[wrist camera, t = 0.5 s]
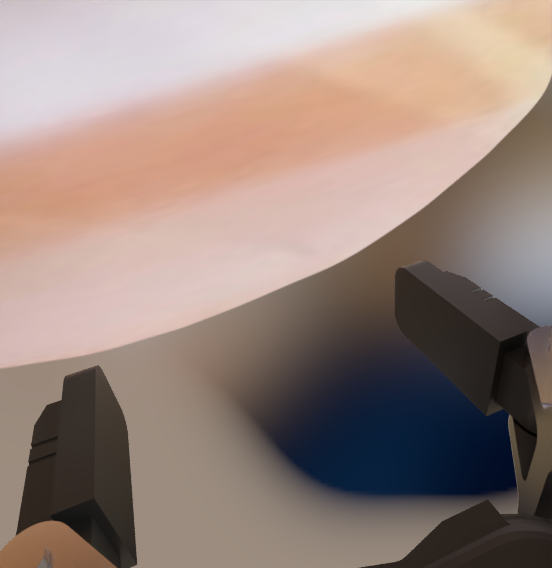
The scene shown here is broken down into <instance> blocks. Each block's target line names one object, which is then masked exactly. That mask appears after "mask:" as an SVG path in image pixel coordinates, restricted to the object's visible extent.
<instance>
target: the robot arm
mask: <svg viewBox="0 0 552 568" xmlns="http://www.w3.org/2000/svg"><path fill="white" fill-rule="evenodd" d="M395 318H396V321H397V324H398V326H399V328H400V330H401V331H402V333H403V334H404V335H405V336H406V337H407V338H408V339H409V340H410V341H411V342H412V343H413V344H414V345H415V346H416V347H417V348H418V349H419V350H420V351H421V352H422V353H423V354H424V355H425V356H426V357H427V358H428V359H429V360H430V361H431V362H433V364H434V365H436V367H437V368H439V369H440V371H441V372H443V374H445V376H446V377H448V378H449V379H450V380H451V381H452V382H453V383H454V384H455V385H456V386H457V387H458V388H459V389H460V390H461V391H462V392H463V393H464V394H465V395H466V396H467V397H468V398H469V399H470V400H471V401H472V402H473V403H474V404H475V405H476V406H477V407H478V408H479V409H480V410H481V411H482V412H483V413H484V414H485V415H486V416H488V415H490V414H492V413H494V412H497V411H499V410H501V409H505V410H506V411H507V412H508V413H509V414H510V416H509V420H508V426H509V433H510V439H511V446H512V453H513V460H514V466H515V473H516V480H517V487H518V513H517V514H499V512H498V511H497V510H496V509H495V507H494V506H493V505H492V504H491V503H490V502H489V500H486V501H484V502H482V503H480V504H477V505H475V506H473V507H471V508H469V509H467V510H465V511H463V512H461V513H459V514H457V515H454V516H452V517H450V518H448V519H446V520H444V521H442V522H441V523H440V524H439V525H438V526H437V527H436V528H435V529H434V530H433V531H432V532H431V533H430V534H429V535H428V536H427V537H425V538H424V540H422V541H421V543H419V544H418V545H417V546H416V547H415V548H414V549H413V550H412V551H411V552H410V553H409V554H408V555H407V556H406V557H405V558H403V559H402V560H400V561H397V562H393V563H386V564H380V565H374V566H367V567H361V568H552V326H544V327H539V326H537V325H536V324H534V323H533V322H531V321H530V320H528V319H527V318H525V317H524V316H522V315H521V314H519V313H518V312H516V311H515V310H513V309H512V308H510V307H509V306H507V305H506V304H504V303H503V302H501V301H500V300H498V299H497V298H493V296H492V295H491V294H489V293H488V292H486V291H485V290H481V288H480V287H479V286H477V285H476V284H474V283H473V282H471V281H470V280H468V279H467V278H465V277H462V276H459V275H456V274H453V273H450V272H447V271H446V272H442V271H441V270H439V269H438V268H437V267H435V266H434V265H432V264H431V263H429V262H427V261H425V260H422V261H419V262H416V263H413V264H410V265H407V266H403V267H400V268H398V269H397V271H396V274H395ZM31 446H32V449H30V455H29V461H28V462H29V466H28V468H27V473H26V479H25V485H24V491H23V497H22V503H21V509H20V515H19V522H18V527H17V532H16V536H15V537H14V538H13V539H12V540H11V541H10V542H8V544H7V545H6V546H5V547H4V548H3V549H2V550H1V551H0V568H130V567H133V566H135V565H137V556H136V541H135V527H134V513H133V499H132V485H131V472H130V457H129V443H128V431H127V425H126V421H125V418H124V415H123V412H122V409H121V407H120V405H119V403H118V401H117V399H116V397H115V395H114V393H113V391H112V389H111V387H110V385H109V383H108V381H107V379H106V377H105V375H104V373H103V371H102V369H101V368H100V366H98V365H97V366H94V367H91V368H88V369H85V370H82V371H79V372H76V373H73V374H70V375H67V376H65V378H64V382H63V392H62V400H61V401H58V402H55V403H52V404H49V405H47V406H46V407H45V409H44V411H43V412H42V414H41V416H40V417H39V419H38V420H37V422H36V424H35V425H34V431H33V437H32V443H31Z"/></svg>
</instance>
